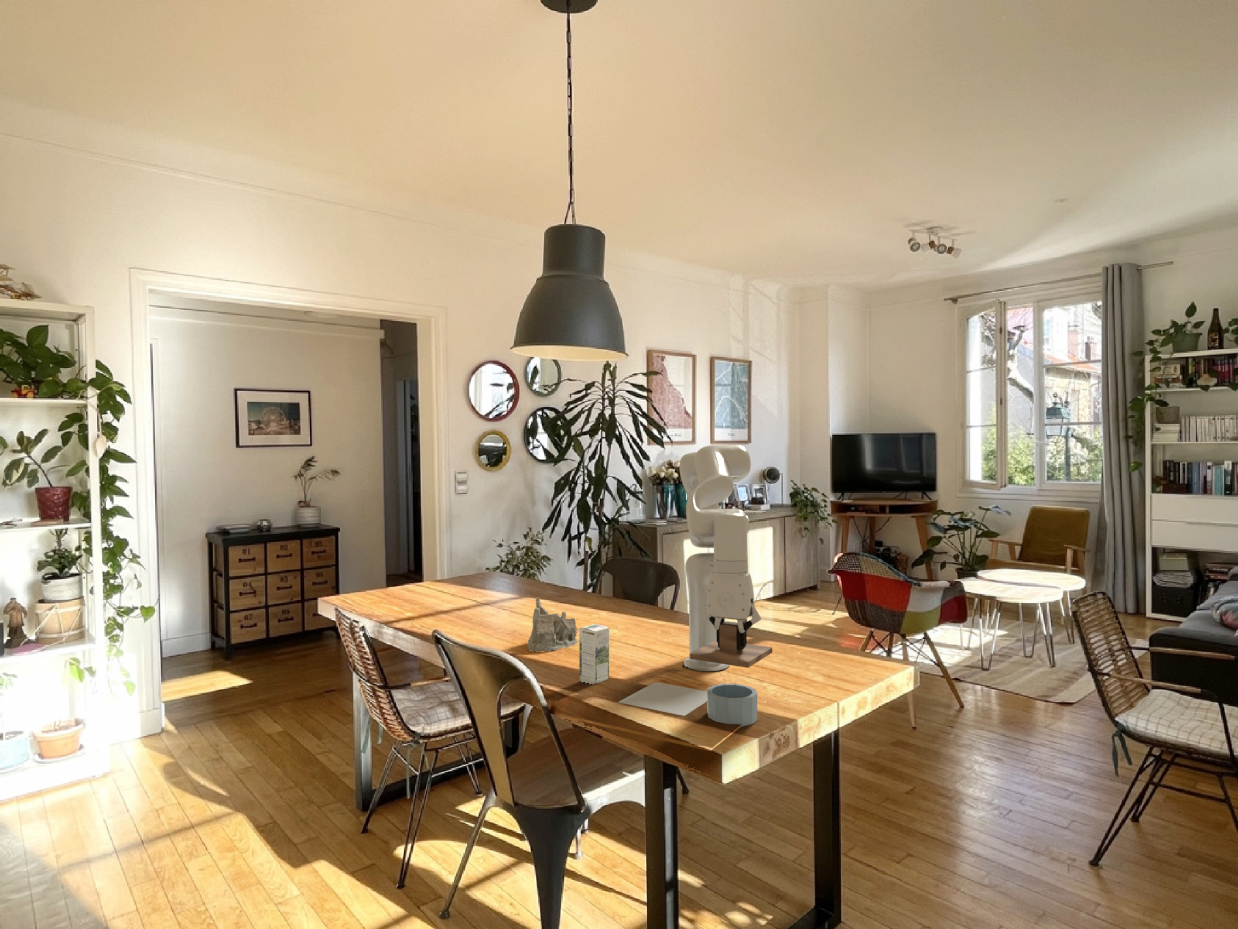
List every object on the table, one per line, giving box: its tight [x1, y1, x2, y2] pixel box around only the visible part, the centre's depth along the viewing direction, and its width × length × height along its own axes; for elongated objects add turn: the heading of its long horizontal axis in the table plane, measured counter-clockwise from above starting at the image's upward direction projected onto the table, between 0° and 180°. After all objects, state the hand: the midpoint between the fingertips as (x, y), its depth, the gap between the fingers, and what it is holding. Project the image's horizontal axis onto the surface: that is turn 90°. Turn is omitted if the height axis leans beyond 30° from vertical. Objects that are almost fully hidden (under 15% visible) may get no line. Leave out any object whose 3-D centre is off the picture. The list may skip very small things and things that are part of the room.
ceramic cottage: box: [527, 597, 578, 652], centre depth 236 cm, size 16×16×15 cm
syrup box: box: [578, 623, 610, 685], centre depth 198 cm, size 6×6×14 cm
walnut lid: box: [689, 620, 773, 668], centre depth 170 cm, size 14×14×7 cm
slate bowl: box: [706, 683, 758, 728], centre depth 171 cm, size 11×11×6 cm
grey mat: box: [617, 681, 707, 717], centre depth 183 cm, size 18×18×1 cm
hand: (731, 646), depth 170 cm, fingers closed on walnut lid, 4 cm apart
